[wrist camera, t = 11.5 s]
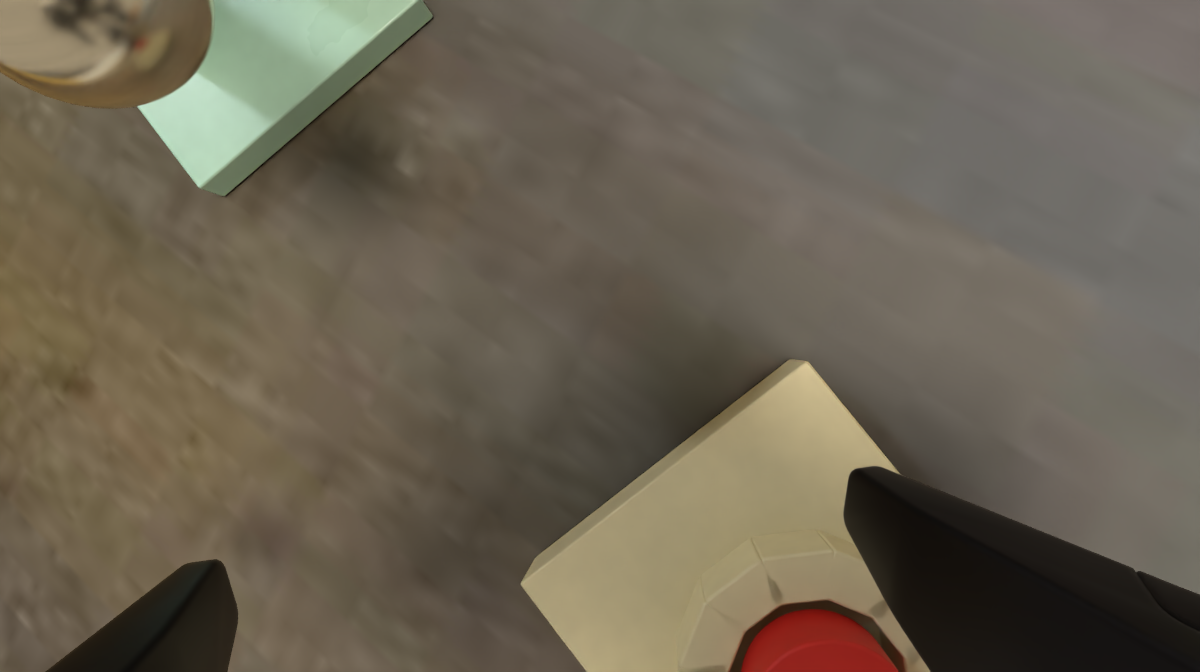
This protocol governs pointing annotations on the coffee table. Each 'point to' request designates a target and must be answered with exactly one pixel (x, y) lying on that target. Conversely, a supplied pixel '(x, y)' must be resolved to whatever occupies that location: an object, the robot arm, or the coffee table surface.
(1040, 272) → the coffee table surface
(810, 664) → the button
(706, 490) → the button block
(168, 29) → the lever
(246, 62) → the bracket
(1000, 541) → the robot arm
